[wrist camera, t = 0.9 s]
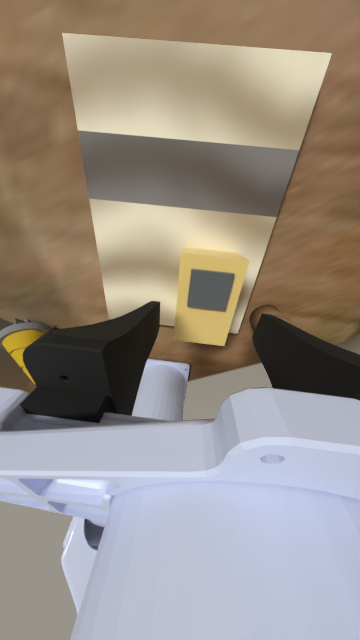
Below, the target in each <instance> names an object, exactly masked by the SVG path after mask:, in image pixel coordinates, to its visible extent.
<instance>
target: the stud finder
mask: <svg viewBox="0 0 360 640" xmlns="http://www.w3.org/2000/svg"><path fill="white" fill-rule="evenodd" d="M249 262H250V260H248V259H247V258H245V257H243V256H242V255H240V254H239V253H236V252H227V251H217V250H208V249H198V248H189V247H184V248H183V250H182V252H181V257H180V269H179V281H178V292H177V304H176V316H175V328H174V340H177V341H185V342H194V343H202V344H210V345H219V346H224V345H225V342H226V339H227V335H228V332H229V329H230V325H231V322H232V319H233V315H234V312H235V309H236V305H237V302H238V298H239V295H240V292H241V288H242V285H243V282H244V278H245V275H246V272H247V268H248V265H249Z"/></svg>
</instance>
